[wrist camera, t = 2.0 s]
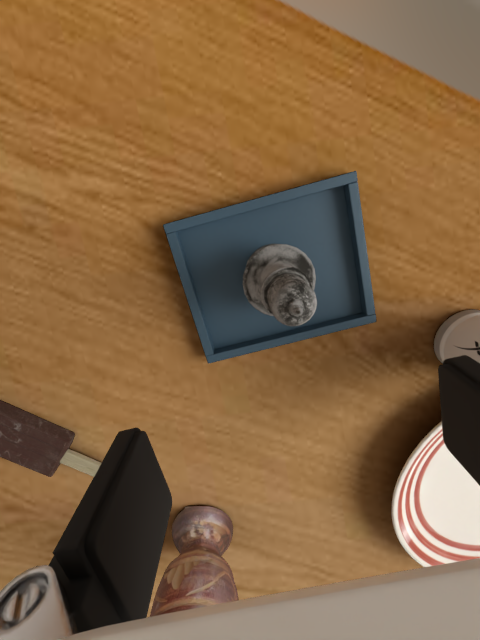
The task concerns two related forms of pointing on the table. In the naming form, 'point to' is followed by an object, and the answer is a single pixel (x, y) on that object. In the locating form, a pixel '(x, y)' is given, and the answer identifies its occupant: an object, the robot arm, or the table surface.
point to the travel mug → (459, 336)
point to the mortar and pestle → (197, 563)
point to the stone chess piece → (281, 283)
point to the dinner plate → (436, 505)
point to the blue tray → (263, 229)
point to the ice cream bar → (39, 443)
